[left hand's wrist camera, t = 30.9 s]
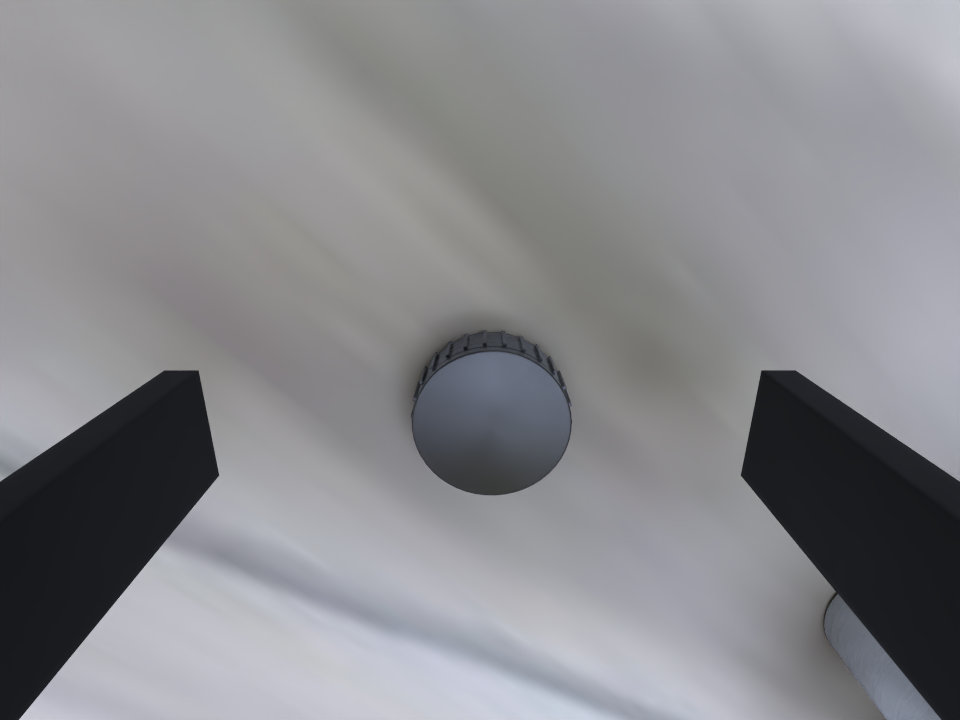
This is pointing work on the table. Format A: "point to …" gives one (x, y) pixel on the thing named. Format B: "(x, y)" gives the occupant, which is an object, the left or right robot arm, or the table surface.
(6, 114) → the table surface
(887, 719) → the bottle
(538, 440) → the lid
